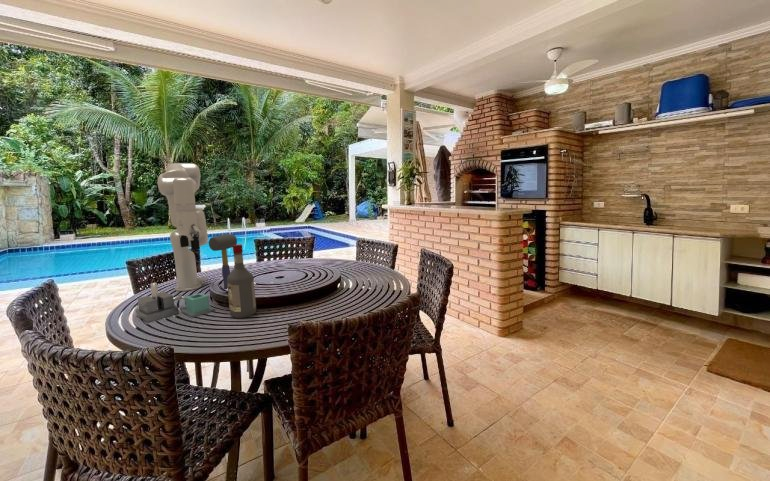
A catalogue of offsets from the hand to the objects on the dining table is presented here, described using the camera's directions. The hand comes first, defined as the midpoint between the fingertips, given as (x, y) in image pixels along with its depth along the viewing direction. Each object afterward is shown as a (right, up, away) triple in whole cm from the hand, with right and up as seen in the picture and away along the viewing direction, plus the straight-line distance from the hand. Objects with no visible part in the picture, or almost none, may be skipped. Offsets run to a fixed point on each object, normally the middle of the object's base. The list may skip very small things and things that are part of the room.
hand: (190, 247), depth 151 cm
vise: (-13, -28, +3) cm, 31 cm away
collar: (+1, -27, +4) cm, 27 cm away
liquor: (+23, -29, 0) cm, 36 cm away
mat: (+2, -28, +4) cm, 28 cm away
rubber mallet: (+3, -24, +30) cm, 38 cm away
